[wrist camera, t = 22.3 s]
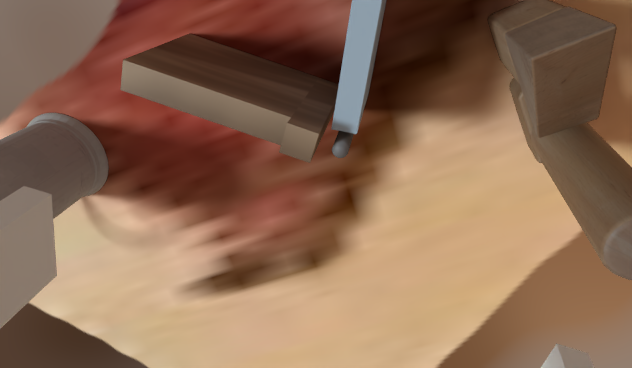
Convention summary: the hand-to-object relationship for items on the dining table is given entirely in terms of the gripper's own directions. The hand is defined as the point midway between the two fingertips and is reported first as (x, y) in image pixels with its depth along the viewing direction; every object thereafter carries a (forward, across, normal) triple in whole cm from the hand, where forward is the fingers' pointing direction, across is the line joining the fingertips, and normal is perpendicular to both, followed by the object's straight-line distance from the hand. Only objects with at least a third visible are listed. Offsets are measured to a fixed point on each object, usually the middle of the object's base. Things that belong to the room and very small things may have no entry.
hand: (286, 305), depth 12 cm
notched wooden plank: (+28, -7, -3) cm, 29 cm away
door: (+27, -1, +4) cm, 28 cm away
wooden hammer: (+28, +12, +2) cm, 30 cm away
